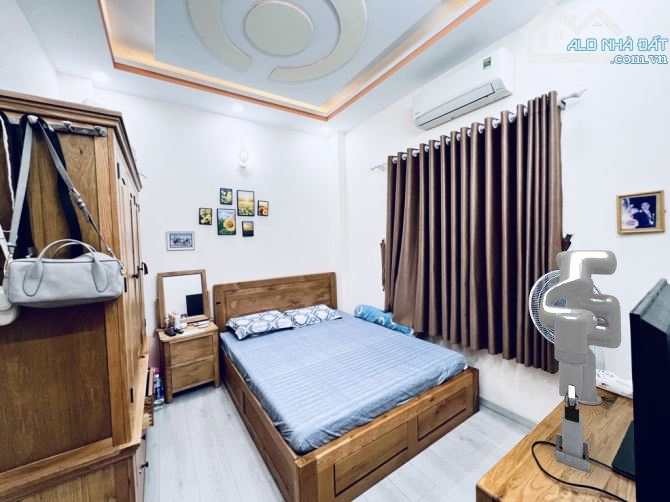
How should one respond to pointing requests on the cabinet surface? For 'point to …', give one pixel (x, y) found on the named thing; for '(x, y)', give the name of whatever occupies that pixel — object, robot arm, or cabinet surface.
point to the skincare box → (572, 437)
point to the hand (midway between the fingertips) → (571, 412)
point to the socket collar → (571, 459)
